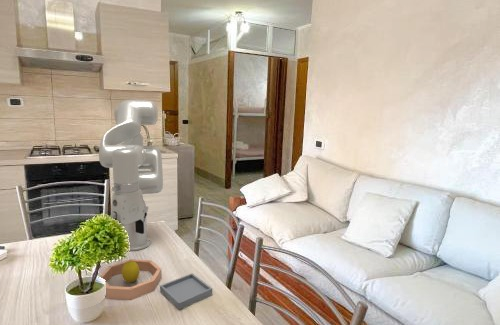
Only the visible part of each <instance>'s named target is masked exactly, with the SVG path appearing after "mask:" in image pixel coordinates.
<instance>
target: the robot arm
mask: <svg viewBox="0 0 500 325" xmlns="http://www.w3.org/2000/svg"><path fill="white" fill-rule="evenodd" d="M158 112H159V110H158V107H157V105H156V103H155V102H154V101H152V100H148V99H147V100H143V99H142V100H140V99H126V100H123V101H122V102H120V103H119V105H118V106H116V107H115V109H114V111H113V116H114V121H115V125H114V126H112V127H111V128H110V129H108V130H107V131H106V132H105V133H104V134H103V135H102V137H101V139H100V143H99V150H98V151H99V152H98V161H99V163H100V165H101V166H102V167H104V168H107V169H112V179H113V180H112V181H113V182H112V183H113V186H112V188H111V191H112V192H113V193H112V198H111V208H110V210H111V211H110V215H109V216H108V217H111V218H113V219H115V220H118V221H119V223H121V224H122V227H123V226H124V227H125V230H126V231H127V232H128V236H129V242H130V251H131V252H132V251H139V250H140V251H141V250H144V249H145V248H148V247H149V246H150V245H151V244H152V239H151V238H150V237H148V228H147V215H148V211H149V206H148V205H147V203H146V201H145V199H144V196H143V195H149V194H150V195H151V194H159V193H161V192H162V190H163V188H164V179H163V178H164V177H163V176H164V175H163V157H162V153H161V150H160V149H159V147H157V146H144V137H143V135H142V133H141V131H142V126H155V125H156V124H157V122H158V119H159V118H158V117H159V116H158V115H159V113H158ZM130 251H129V252H130Z"/></svg>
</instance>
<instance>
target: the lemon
mask: <svg viewBox="0 0 500 325" xmlns="http://www.w3.org/2000/svg"><path fill="white" fill-rule="evenodd" d="M139 276H140V270H139V267H138V264H137V263H136V262H134V261H128V262H127V263H125V264H124V266H123V268H122V273H121V277H122V278H123V280H124V282H126V283H129V284H132V283H134V282H135V281H137V280H138V278H139Z"/></svg>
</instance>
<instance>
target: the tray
mask: <svg viewBox="0 0 500 325" xmlns="http://www.w3.org/2000/svg"><path fill="white" fill-rule="evenodd" d="M159 292H160V294H162V296H164V297H165V299H167V300H168V301H169V302H170V303H171V304H172V305H173V306H174V307H176V308H177V310H179V311H180V310H182V309H185V308H186V307H188V306H191V305H193V304H196V303H198V302H199V301H201V300H203V299H206V298H208V297H210V296H212V295H213V288H212V287H211V286H210V285H208V284H207V283H206V282H204V281H203V280H202V279H200V278H199V277H198V276H197V275H195V273H192V272H191V273H189V274H187V275H183V276H181V277H178V278H176V279H174V280H171V281H168V282H166V283H163V284H161V285H159Z"/></svg>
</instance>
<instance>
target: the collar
mask: <svg viewBox="0 0 500 325" xmlns="http://www.w3.org/2000/svg"><path fill="white" fill-rule="evenodd" d="M128 261H134V262H136V263H137V264H138V267H139V271H144V272H145V271H146V272H148V271H149V272H150V273H151V274H152V277H151V279H149V280H147V281H144V282H142V283H138V284H136V285H133V286H131V287H130V286H129V287H128V286H114V285H110V284H108V282H109V281H110V280H111V279H112V277H114V276H117V275H120V274H122V268H123V266H124V264H125V263H127V262H128ZM99 276H100V277H101V278H103V279H105V280H106V281H105V282H106V296H105V298H106V299H109V300H112V299H113V300H127V301H128V300H130V301H132V300H134V299H136V298H140V297H141V296H144V295H148V294H149V293H153V292H154V291H156V288H157V286H158V285H159V283H160V282H161V280H162V268H161V267H160V266H159V265H158V264H156V263H155V261H153V260H151V259H150V260H149V259H132V258H131V259H127V260H123V261H121V262H118V263H115V264H111V265H108V267H107V268H105V269H104V271H103V272H102V273H101V274H100V275H99Z"/></svg>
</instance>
